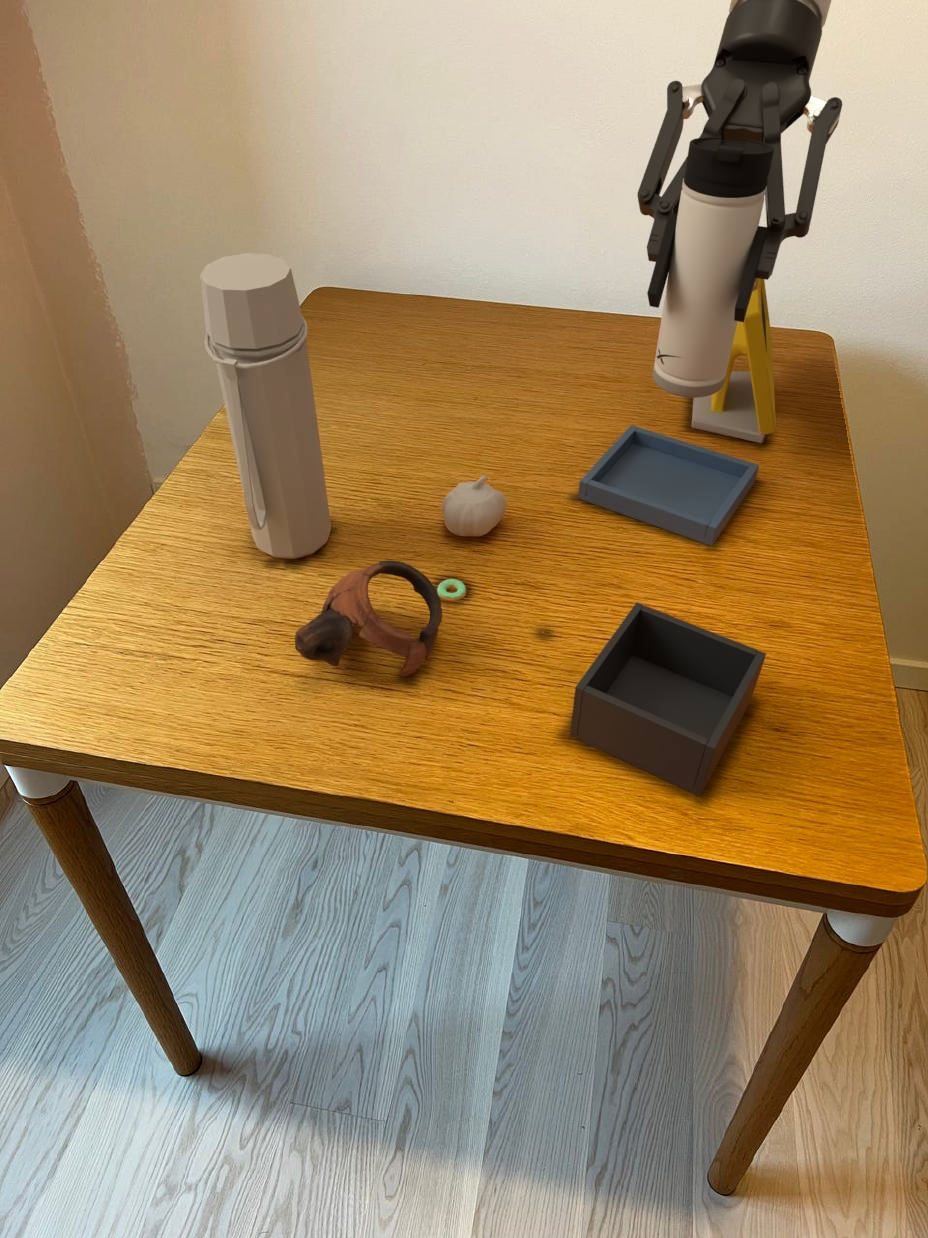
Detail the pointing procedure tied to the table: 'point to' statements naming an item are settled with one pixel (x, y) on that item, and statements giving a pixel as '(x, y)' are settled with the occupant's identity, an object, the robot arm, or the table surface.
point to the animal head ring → (369, 619)
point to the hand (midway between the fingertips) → (695, 307)
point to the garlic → (473, 508)
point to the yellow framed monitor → (744, 381)
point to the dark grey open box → (666, 696)
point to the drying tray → (669, 484)
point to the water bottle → (268, 399)
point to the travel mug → (709, 262)
